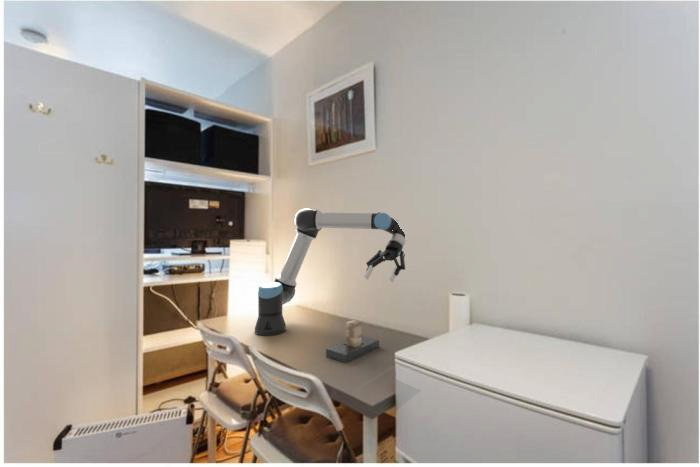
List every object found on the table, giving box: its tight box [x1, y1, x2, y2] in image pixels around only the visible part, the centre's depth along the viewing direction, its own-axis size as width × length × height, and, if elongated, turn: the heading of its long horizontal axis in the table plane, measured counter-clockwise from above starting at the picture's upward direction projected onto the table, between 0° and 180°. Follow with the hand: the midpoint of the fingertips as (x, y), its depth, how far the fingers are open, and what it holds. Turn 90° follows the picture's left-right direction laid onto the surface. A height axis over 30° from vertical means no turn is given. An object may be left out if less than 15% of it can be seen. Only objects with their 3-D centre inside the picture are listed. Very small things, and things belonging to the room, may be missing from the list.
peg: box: [345, 319, 362, 348], centre depth 129 cm, size 4×4×12 cm
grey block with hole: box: [325, 334, 380, 364], centre depth 128 cm, size 10×22×3 cm, turn 141°
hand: (378, 279), depth 142 cm, fingers open, 13 cm apart
